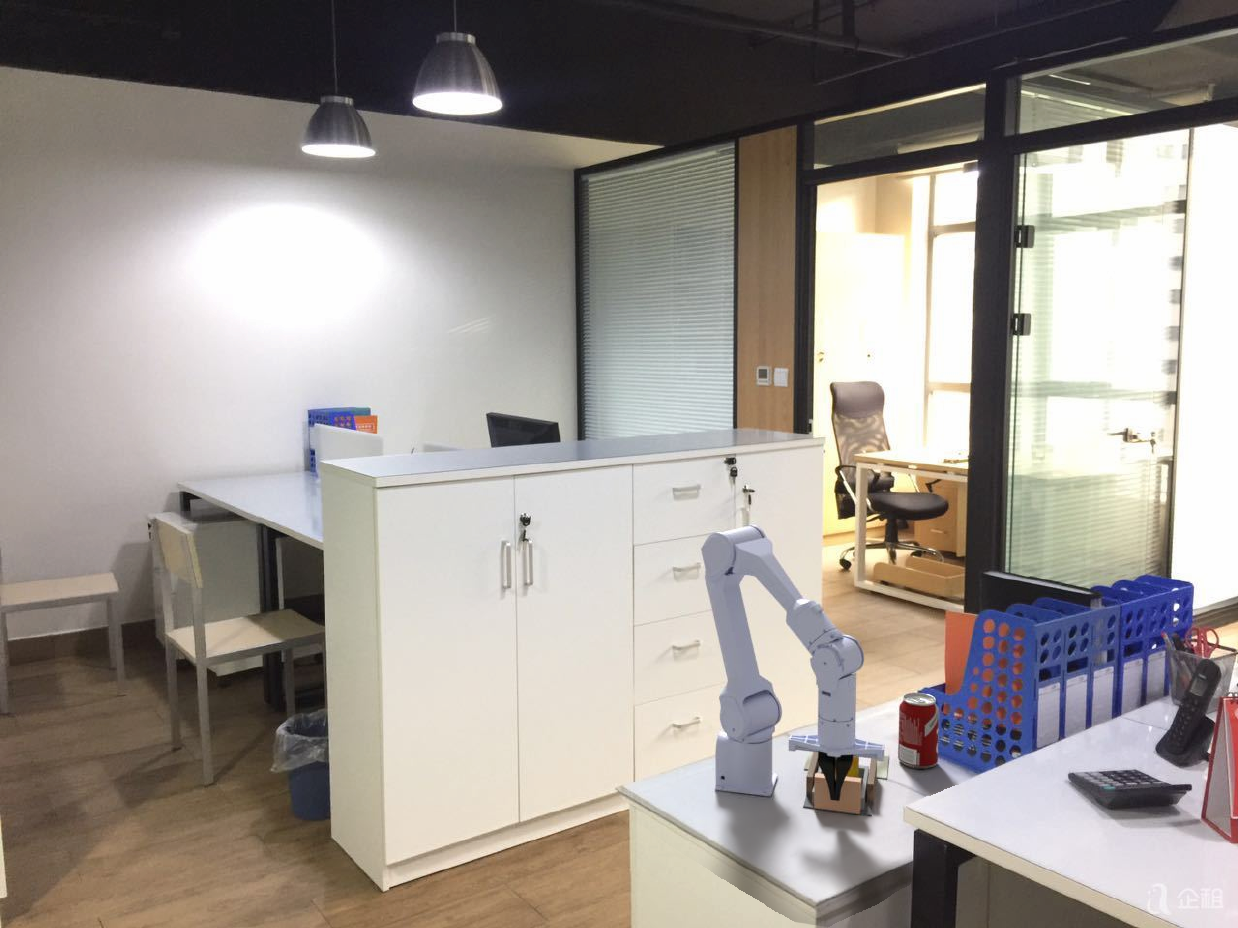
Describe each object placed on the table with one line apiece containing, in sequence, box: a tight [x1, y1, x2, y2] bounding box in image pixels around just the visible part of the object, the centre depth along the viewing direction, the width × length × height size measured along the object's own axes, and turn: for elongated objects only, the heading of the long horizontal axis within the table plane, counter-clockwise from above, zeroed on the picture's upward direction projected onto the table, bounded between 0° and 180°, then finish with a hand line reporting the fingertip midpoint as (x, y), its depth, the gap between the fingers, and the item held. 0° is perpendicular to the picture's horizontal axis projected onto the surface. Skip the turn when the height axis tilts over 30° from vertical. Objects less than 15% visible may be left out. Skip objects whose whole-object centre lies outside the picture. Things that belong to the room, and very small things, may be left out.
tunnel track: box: [802, 751, 890, 817], centre depth 174 cm, size 14×23×4 cm, turn 163°
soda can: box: [897, 692, 940, 770], centre depth 180 cm, size 7×7×12 cm
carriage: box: [812, 764, 870, 815], centre depth 169 cm, size 8×14×5 cm, turn 163°
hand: (835, 797), depth 160 cm, fingers closed
